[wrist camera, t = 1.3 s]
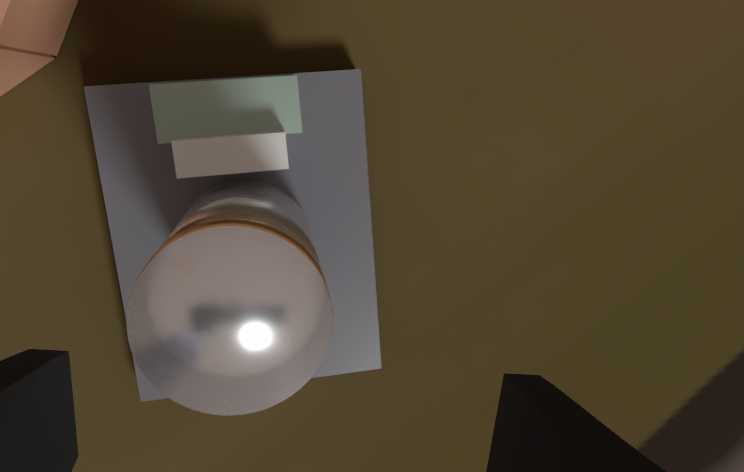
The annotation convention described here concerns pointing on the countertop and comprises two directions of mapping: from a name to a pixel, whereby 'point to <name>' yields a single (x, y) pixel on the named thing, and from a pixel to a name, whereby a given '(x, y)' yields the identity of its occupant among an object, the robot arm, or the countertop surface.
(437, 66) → the countertop surface
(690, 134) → the countertop surface
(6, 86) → the cup
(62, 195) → the countertop surface
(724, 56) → the countertop surface
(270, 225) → the battery cell
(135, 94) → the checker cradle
